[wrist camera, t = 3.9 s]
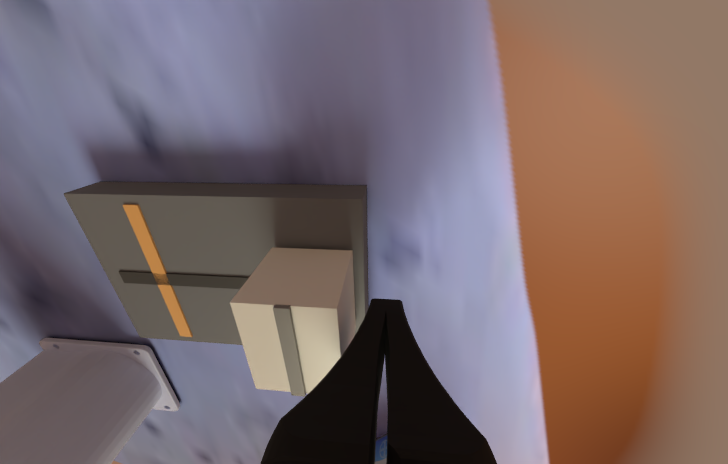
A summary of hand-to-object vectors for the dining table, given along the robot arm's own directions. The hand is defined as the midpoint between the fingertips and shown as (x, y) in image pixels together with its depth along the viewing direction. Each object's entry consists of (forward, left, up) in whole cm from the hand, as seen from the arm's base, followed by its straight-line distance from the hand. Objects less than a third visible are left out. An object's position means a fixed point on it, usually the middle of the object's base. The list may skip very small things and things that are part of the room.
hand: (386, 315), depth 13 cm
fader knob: (-4, 0, -2) cm, 4 cm away
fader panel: (-9, 0, -4) cm, 10 cm away
